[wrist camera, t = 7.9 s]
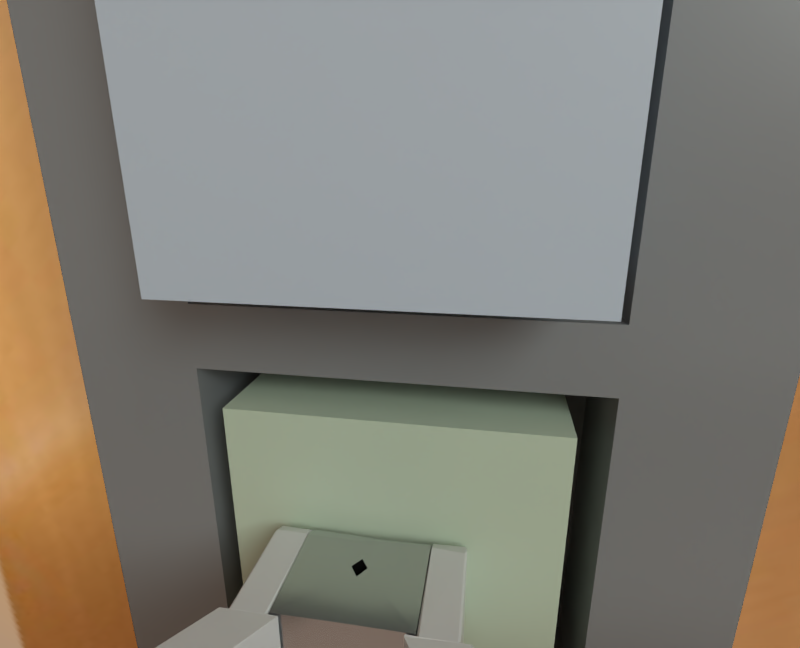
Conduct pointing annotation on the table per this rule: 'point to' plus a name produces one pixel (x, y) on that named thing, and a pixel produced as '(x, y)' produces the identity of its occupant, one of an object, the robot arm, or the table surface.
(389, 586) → the robot arm
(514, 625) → the sage key
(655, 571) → the keypad
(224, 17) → the light grey key
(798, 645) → the table surface
